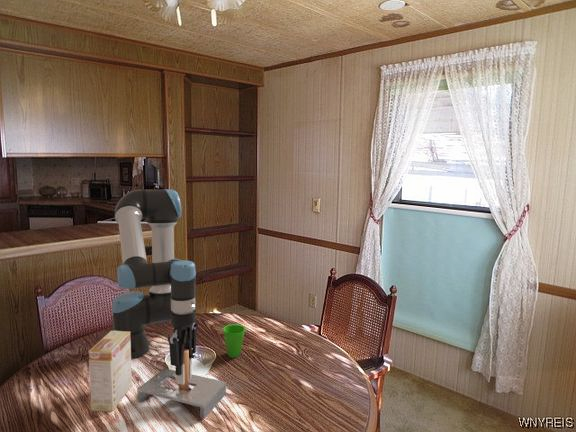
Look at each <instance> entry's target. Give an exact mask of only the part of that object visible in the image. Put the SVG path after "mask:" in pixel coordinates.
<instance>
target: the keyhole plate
mask: <svg viewBox="0 0 576 432" xmlns="http://www.w3.org/2000/svg"><path fill="white" fill-rule="evenodd" d="M168 379H172V380H176V370H174V369H169V368H166V367H164V368H163V369H161V370H160V371H158V373H156V374H155V375H153V376H152V377H151V378H150V379H148V380H147V381H145V382H144V383H143V384H142V385H141V386H139V387H137V390H136V391H137V392H136V393H137V394H136V395H137V402H138V403H142V402H144V401H145V400H146V399H147V398H148V397H150V396H155V397H158V398H164V399H165V400H170V401H175V402H179V403H183V404H187V405H190V406H194V407H199V408H200V410H199V411H200V415H199V416H200V419H201V420H205V419H206V417H208V415H210V413H211V411H212V410H214V409H215V407H216V406H217V405H218V404H219V403H220V402H221V401H222V399H223V398H224V397H225V396H226V395H227V381H223V380H218V379H214V378H209V377H205V376H202V375H196V374H192V373H191V378H190V379H189V386H193V388H191V389H192V390H191V391H185V390H181V389H179V388H176V389H175V390H174V389H169V388H165V387H162V386H163V385H164V384H165V383H167V382H168Z"/></svg>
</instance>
